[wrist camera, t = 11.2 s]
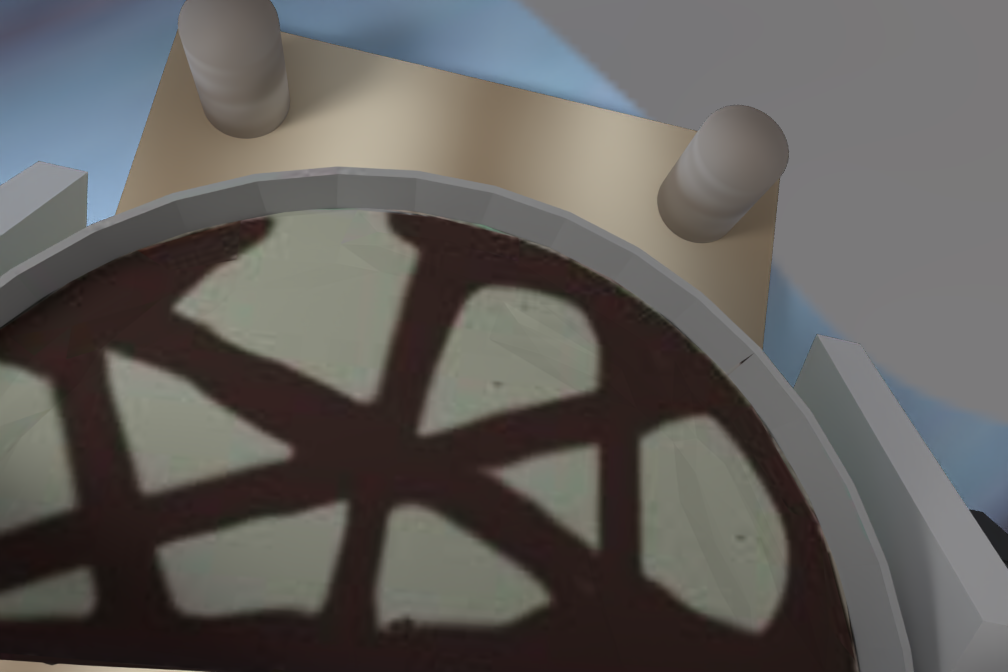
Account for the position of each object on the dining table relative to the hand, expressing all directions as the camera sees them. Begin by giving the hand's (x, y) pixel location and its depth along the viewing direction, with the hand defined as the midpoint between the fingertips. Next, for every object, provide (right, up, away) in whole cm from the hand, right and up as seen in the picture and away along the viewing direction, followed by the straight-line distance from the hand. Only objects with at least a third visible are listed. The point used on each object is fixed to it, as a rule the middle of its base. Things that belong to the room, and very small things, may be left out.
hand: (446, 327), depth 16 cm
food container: (-2, -4, +4) cm, 5 cm away
